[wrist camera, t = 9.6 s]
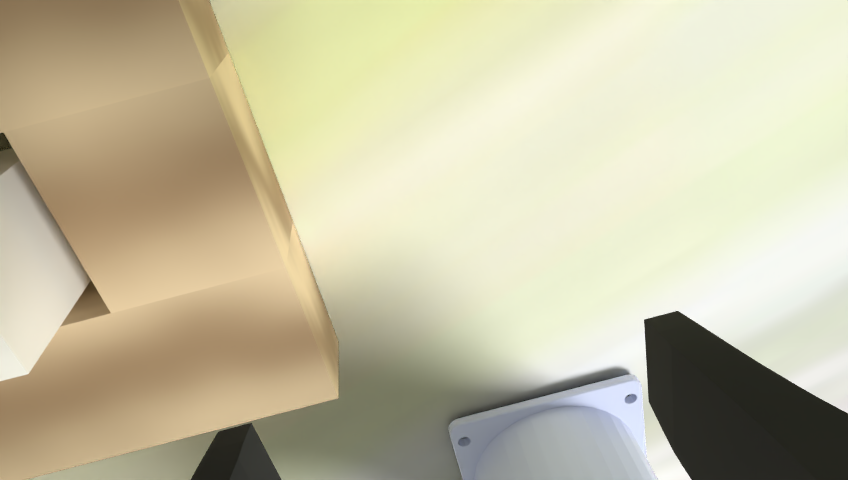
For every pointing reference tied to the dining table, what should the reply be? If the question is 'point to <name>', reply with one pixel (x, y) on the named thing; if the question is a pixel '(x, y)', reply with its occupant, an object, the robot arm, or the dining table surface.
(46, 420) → the socket plate
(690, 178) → the dining table surface
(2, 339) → the plug
